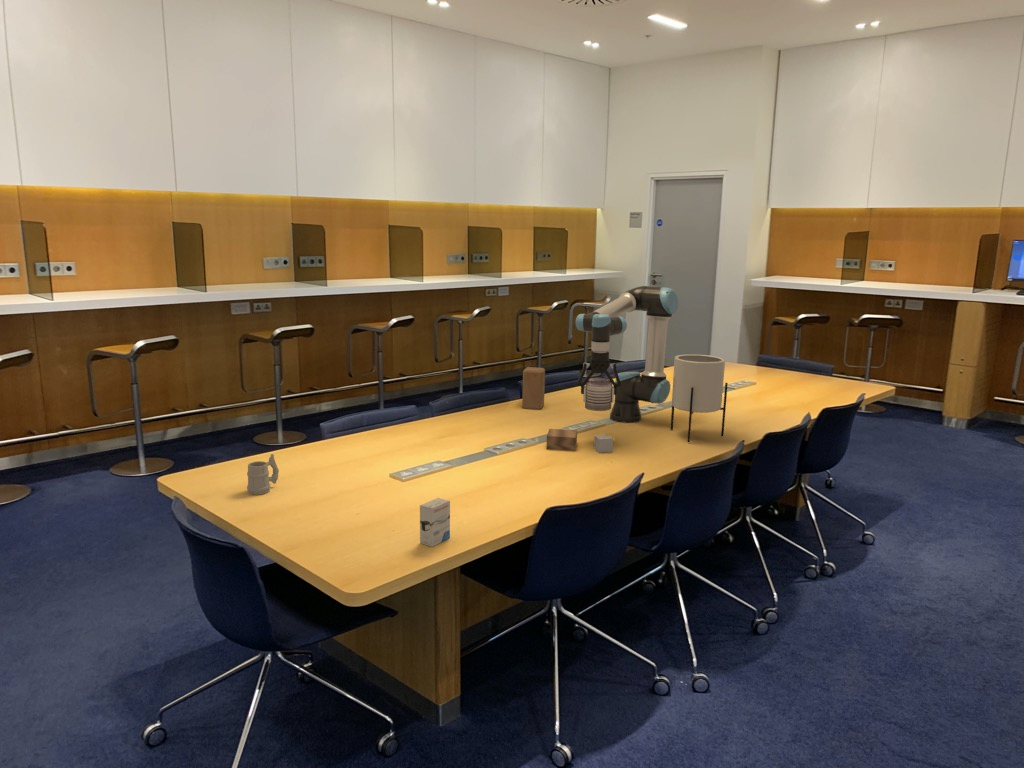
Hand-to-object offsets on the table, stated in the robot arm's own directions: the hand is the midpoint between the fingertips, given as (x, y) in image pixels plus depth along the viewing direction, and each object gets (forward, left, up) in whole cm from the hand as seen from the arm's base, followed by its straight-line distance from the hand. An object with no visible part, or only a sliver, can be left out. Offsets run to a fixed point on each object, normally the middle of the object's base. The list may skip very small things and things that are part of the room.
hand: (598, 401), depth 326 cm
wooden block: (+27, -64, -18) cm, 72 cm away
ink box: (+56, +109, -18) cm, 124 cm away
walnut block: (+15, +6, -18) cm, 25 cm away
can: (0, 0, -3) cm, 3 cm away
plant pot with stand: (-45, -15, -18) cm, 51 cm away
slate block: (-2, +11, -18) cm, 22 cm away
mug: (+120, +70, -18) cm, 140 cm away
